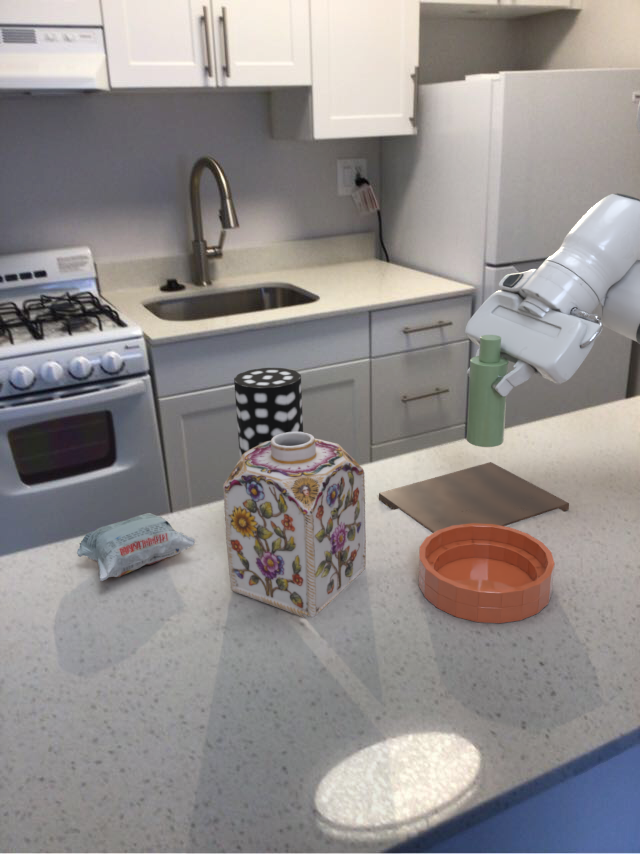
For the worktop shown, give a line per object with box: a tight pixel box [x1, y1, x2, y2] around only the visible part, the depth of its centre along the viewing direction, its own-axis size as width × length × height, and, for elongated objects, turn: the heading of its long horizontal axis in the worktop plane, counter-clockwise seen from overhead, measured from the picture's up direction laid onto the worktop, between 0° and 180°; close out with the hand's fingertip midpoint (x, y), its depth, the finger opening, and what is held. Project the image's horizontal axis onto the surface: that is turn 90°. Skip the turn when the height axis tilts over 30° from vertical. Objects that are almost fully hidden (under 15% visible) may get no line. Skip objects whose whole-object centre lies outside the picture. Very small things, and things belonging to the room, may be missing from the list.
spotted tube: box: [233, 367, 304, 459], centre depth 97 cm, size 8×8×20 cm
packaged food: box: [76, 512, 196, 582], centre depth 91 cm, size 9×12×5 cm
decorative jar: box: [222, 431, 367, 619], centre depth 84 cm, size 12×12×18 cm
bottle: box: [466, 335, 510, 448], centre depth 97 cm, size 5×5×14 cm
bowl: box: [418, 523, 556, 624], centre depth 84 cm, size 14×14×4 cm
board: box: [378, 461, 570, 534], centre depth 103 cm, size 20×16×1 cm
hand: (483, 384), depth 97 cm, fingers closed on bottle, 5 cm apart
